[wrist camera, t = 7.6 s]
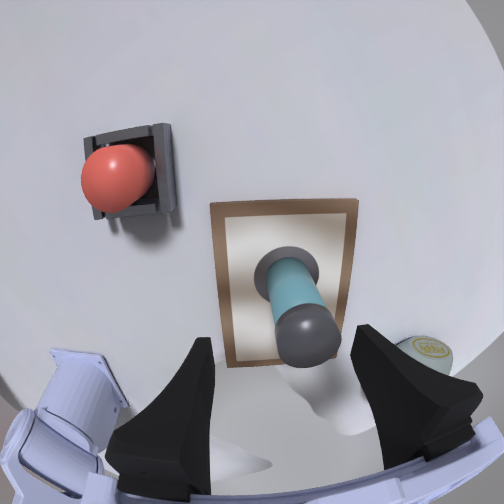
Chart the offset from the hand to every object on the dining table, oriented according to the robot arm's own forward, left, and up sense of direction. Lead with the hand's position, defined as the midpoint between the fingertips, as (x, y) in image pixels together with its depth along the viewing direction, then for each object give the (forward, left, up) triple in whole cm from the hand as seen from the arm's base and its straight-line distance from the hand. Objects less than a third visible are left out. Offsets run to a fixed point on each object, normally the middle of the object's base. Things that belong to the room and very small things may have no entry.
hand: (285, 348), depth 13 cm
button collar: (+8, +9, -10) cm, 16 cm away
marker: (-1, -2, -9) cm, 9 cm away
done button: (+8, +9, -9) cm, 15 cm away
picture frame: (-3, -2, -10) cm, 11 cm away
